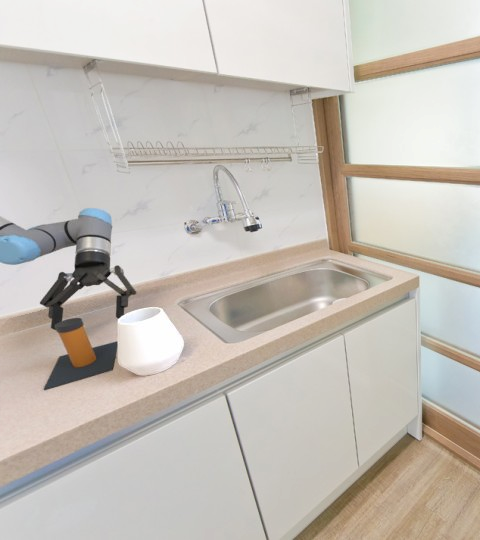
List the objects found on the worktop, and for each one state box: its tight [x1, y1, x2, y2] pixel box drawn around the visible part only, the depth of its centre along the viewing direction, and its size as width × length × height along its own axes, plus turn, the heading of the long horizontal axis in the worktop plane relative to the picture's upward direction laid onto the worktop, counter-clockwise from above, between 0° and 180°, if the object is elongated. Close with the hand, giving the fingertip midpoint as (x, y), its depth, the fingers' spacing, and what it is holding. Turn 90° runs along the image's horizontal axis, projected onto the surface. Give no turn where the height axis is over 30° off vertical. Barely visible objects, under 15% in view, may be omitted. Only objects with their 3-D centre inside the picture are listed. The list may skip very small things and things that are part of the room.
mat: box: [43, 340, 118, 391], centre depth 84 cm, size 16×12×1 cm
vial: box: [55, 317, 96, 367], centre depth 82 cm, size 5×5×12 cm
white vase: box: [116, 306, 185, 377], centre depth 81 cm, size 13×13×14 cm
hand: (88, 323), depth 89 cm, fingers open, 13 cm apart
